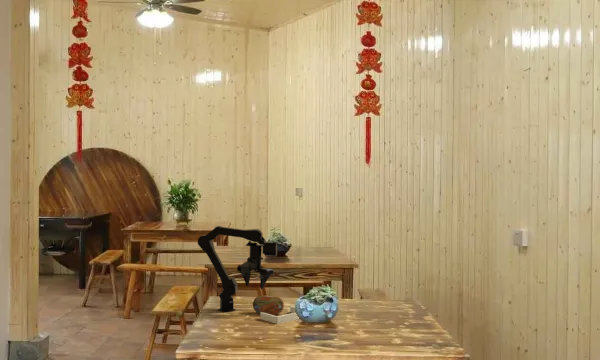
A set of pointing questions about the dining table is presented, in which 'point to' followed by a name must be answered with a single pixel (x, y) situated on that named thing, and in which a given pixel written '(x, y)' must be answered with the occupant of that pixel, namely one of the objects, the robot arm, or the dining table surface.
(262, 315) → the shelf slot
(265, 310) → the tin
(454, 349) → the dining table surface
